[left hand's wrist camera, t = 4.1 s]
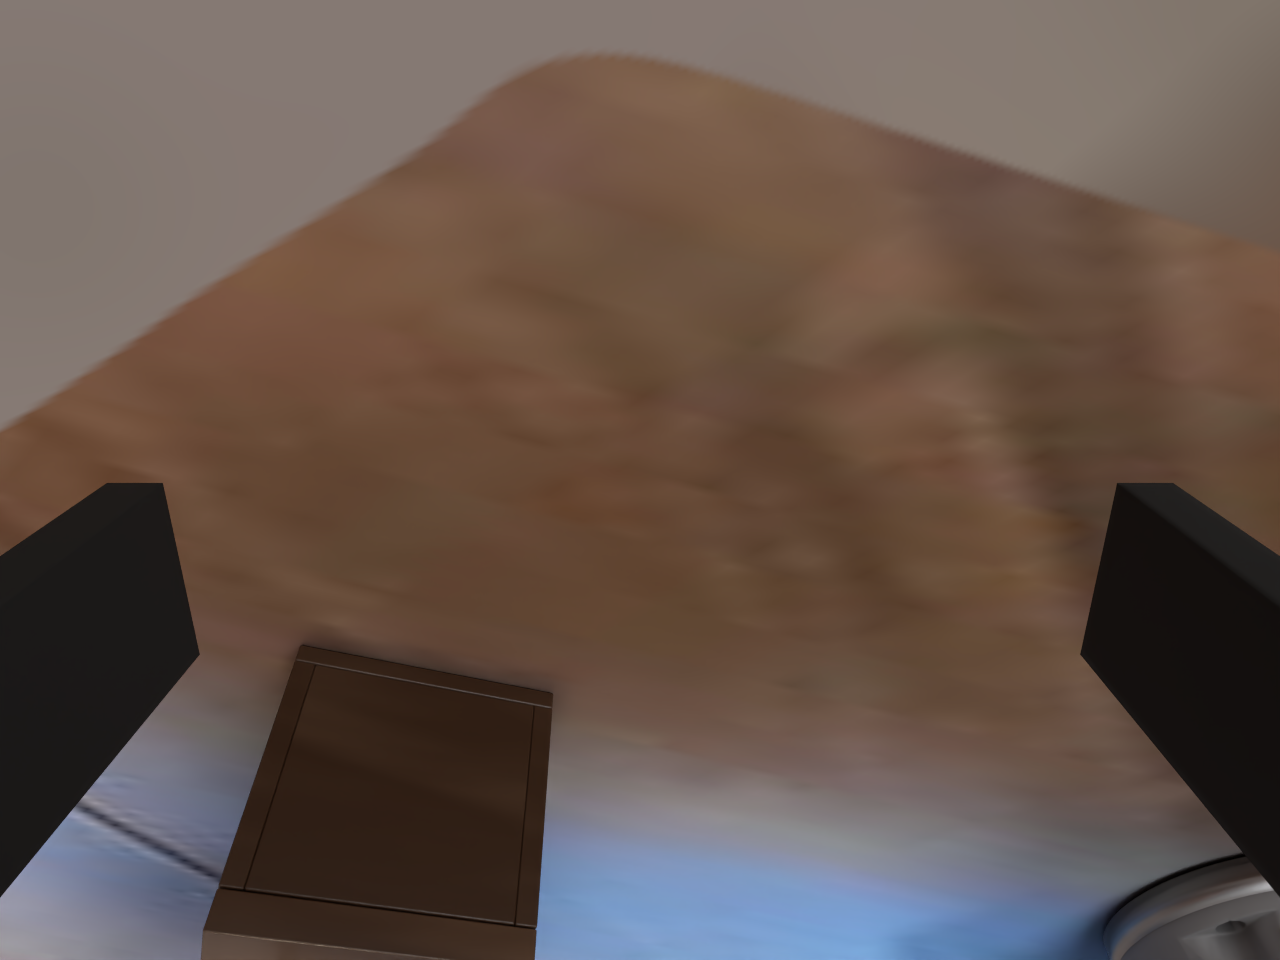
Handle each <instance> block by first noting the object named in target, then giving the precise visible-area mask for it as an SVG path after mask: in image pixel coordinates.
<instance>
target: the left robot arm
mask: <svg viewBox="0 0 1280 960" xmlns="http://www.w3.org/2000/svg"><path fill="white" fill-rule="evenodd" d="M199 655H200V654H199V649H198V645H197V640H196V635H195V631H194V626H193V621H192V617H191V612H190V607H189V603H188V598H187V593H186V589H185V584H184V580H183V575H182V570H181V566H180V561H179V556H178V552H177V547H176V542H175V538H174V533H173V528H172V524H171V519H170V515H169V510H168V505H167V501H166V496H165V491H164V487H163V483H106V484H105V485H104V486H102V487H101V488H99V489H98V490H96V491H95V492H93V493H92V494H90V495H89V496H87V497H86V498H85V499H83V500H82V501H80V502H79V503H77V504H76V505H74V506H73V507H71V508H70V509H69V510H67V511H66V512H64V513H63V514H61V515H60V516H58V517H57V518H55V519H54V520H52V521H51V522H50V523H48V524H47V525H45V526H44V527H42V528H41V529H39V530H38V531H36V532H35V533H33V534H32V535H31V536H29V537H28V538H26V539H25V540H23V541H22V542H20V543H19V544H17V545H16V546H15V547H13V548H12V549H10V550H9V551H7V552H6V553H4V554H3V555H1V556H0V897H1V896H2V895H3V893H4V892H5V891H6V890H7V888H8V887H9V886H10V885H11V884H12V882H13V881H14V880H15V879H16V878H17V876H18V875H19V874H20V873H21V871H22V870H23V869H24V868H25V867H26V865H27V864H28V863H29V862H30V860H31V859H32V858H33V857H34V856H35V854H36V853H37V852H38V851H39V849H40V848H41V847H42V846H43V845H44V843H45V842H46V841H47V840H48V839H49V837H50V836H51V835H52V834H53V832H54V831H55V830H56V829H57V828H58V826H59V825H60V824H61V823H62V821H63V820H64V819H65V818H66V817H67V815H68V814H69V813H70V812H71V811H72V809H73V808H74V807H75V806H76V804H77V803H78V802H79V801H80V800H81V798H82V797H83V796H84V795H85V793H86V792H87V791H88V790H89V789H90V787H91V786H92V785H93V784H94V782H95V781H96V780H97V779H98V778H99V776H100V775H101V774H102V773H103V772H104V770H105V769H106V768H107V767H108V765H109V764H110V763H111V762H112V761H113V759H114V758H115V757H116V756H117V754H118V753H119V752H120V751H121V750H122V748H123V747H124V746H125V745H126V744H127V742H128V741H129V740H130V739H131V737H132V736H133V735H134V734H135V733H136V731H137V730H138V729H139V728H140V726H141V725H142V724H143V723H144V722H145V720H146V719H147V718H148V717H149V715H150V714H151V713H152V712H153V711H154V709H155V708H156V707H157V706H158V705H159V703H160V702H161V701H162V700H163V698H164V697H165V696H166V695H167V694H168V692H169V691H170V690H171V689H172V687H173V686H174V685H175V684H176V683H177V681H178V680H179V679H180V678H181V676H182V675H183V674H184V673H185V672H186V670H187V669H188V668H189V667H190V666H191V664H192V663H193V662H194V661H195V659H196V658H197V657H198V656H199ZM1080 655H1081V656H1082V657H1083V658H1084V659H1085V661H1086V662H1087V663H1088V664H1089V666H1090V667H1091V668H1092V669H1093V670H1094V672H1095V673H1096V674H1097V675H1098V676H1099V678H1100V679H1101V680H1102V681H1103V683H1104V684H1105V685H1106V686H1107V687H1108V689H1109V690H1110V691H1111V692H1112V694H1113V695H1114V696H1115V697H1116V698H1117V700H1118V701H1119V702H1120V703H1121V705H1122V706H1123V707H1124V708H1125V709H1126V711H1127V712H1128V713H1129V714H1130V715H1131V717H1132V718H1133V719H1134V720H1135V722H1136V723H1137V724H1138V725H1139V726H1140V728H1141V729H1142V730H1143V731H1144V733H1145V734H1146V735H1147V736H1148V737H1149V739H1150V740H1151V741H1152V742H1153V744H1154V745H1155V746H1156V747H1157V748H1158V750H1159V751H1160V752H1161V753H1162V754H1163V756H1164V757H1165V758H1166V759H1167V761H1168V762H1169V763H1170V764H1171V765H1172V767H1173V768H1174V769H1175V770H1176V772H1177V773H1178V774H1179V775H1180V776H1181V778H1182V779H1183V780H1184V781H1185V782H1186V784H1187V785H1188V786H1189V787H1190V789H1191V790H1192V791H1193V792H1194V793H1195V795H1196V796H1197V797H1198V798H1199V800H1200V801H1201V802H1202V803H1203V804H1204V806H1205V807H1206V808H1207V809H1208V811H1209V812H1210V813H1211V814H1212V815H1213V817H1214V818H1215V819H1216V820H1217V821H1218V823H1219V824H1220V825H1221V826H1222V828H1223V829H1224V830H1225V831H1226V832H1227V834H1228V835H1229V836H1230V837H1231V839H1232V840H1233V841H1234V842H1235V843H1236V845H1237V846H1238V847H1239V848H1240V849H1241V851H1242V852H1243V853H1244V854H1245V856H1246V857H1242V858H1237V859H1233V860H1229V861H1225V862H1221V863H1217V864H1214V865H1210V866H1207V867H1204V868H1201V869H1198V870H1195V871H1192V872H1189V873H1186V874H1183V875H1181V876H1178V877H1176V878H1173V879H1171V880H1169V881H1166V882H1164V883H1162V884H1160V885H1158V886H1156V887H1154V888H1152V889H1150V890H1148V891H1146V892H1145V893H1143V894H1141V895H1140V896H1138V897H1136V898H1135V899H1133V900H1132V901H1130V902H1129V903H1128V904H1126V905H1125V906H1124V907H1123V908H1122V909H1120V910H1119V911H1118V912H1117V913H1116V914H1115V915H1114V916H1113V918H1112V919H1111V920H1110V921H1109V923H1108V924H1107V926H1106V928H1105V931H1104V934H1103V942H1104V946H1105V949H1106V951H1107V954H1108V956H1109V959H1110V960H1280V556H1279V555H1277V554H1276V553H1274V552H1273V551H1271V550H1270V549H1268V548H1267V547H1265V546H1264V545H1263V544H1261V543H1260V542H1258V541H1257V540H1255V539H1254V538H1252V537H1251V536H1249V535H1248V534H1247V533H1245V532H1244V531H1242V530H1241V529H1239V528H1238V527H1236V526H1235V525H1233V524H1232V523H1230V522H1229V521H1228V520H1226V519H1225V518H1223V517H1222V516H1220V515H1219V514H1217V513H1216V512H1214V511H1213V510H1211V509H1210V508H1209V507H1207V506H1206V505H1204V504H1203V503H1201V502H1200V501H1198V500H1197V499H1195V498H1194V497H1193V496H1191V495H1190V494H1188V493H1187V492H1185V491H1184V490H1182V489H1181V488H1179V487H1178V486H1176V485H1175V484H1174V483H1117V487H1116V491H1115V496H1114V501H1113V505H1112V510H1111V515H1110V519H1109V524H1108V528H1107V533H1106V538H1105V542H1104V547H1103V552H1102V556H1101V561H1100V566H1099V570H1098V575H1097V580H1096V584H1095V589H1094V593H1093V598H1092V603H1091V607H1090V612H1089V617H1088V621H1087V626H1086V631H1085V635H1084V640H1083V645H1082V649H1081V654H1080Z"/></svg>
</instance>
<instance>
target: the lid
mask: <svg viewBox="0 0 1280 960" xmlns="http://www.w3.org/2000/svg"><path fill="white" fill-rule="evenodd" d="M536 932H537V931H536V930H535V929H527V928H519V927H512V926H504V925H496V924H489V923H481V922H473V921H465V920H458V919H450V918H442V917H435V916H427V915H419V914H412V913H404V912H396V911H389V910H381V909H373V908H365V907H358V906H350V905H342V904H335V903H327V902H319V901H312V900H304V899H296V898H289V897H281V896H273V895H266V894H258V893H250V892H242V891H235V890H227V889H217V891H216V894H215V897H214V900H213V902H212V905H211V908H210V911H209V914H208V917H207V920H206V923H205V926H204V929H203V937H202V952H201V960H535V947H536Z"/></svg>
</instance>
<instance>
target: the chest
mask: <svg viewBox="0 0 1280 960" xmlns="http://www.w3.org/2000/svg"><path fill="white" fill-rule="evenodd" d="M552 703H553V694H552V693H547V692H542V691H537V690H532V689H527V688H521V687H516V686H511V685H506V684H501V683H495V682H490V681H485V680H480V679H475V678H469V677H464V676H459V675H454V674H449V673H443V672H438V671H433V670H428V669H422V668H417V667H412V666H407V665H402V664H396V663H391V662H386V661H381V660H376V659H370V658H365V657H360V656H355V655H350V654H344V653H339V652H334V651H329V650H324V649H318V648H313V647H308V646H301V647H300V648H299V651H298V654H297V657H296V661H295V663H294V666H293V669H292V672H291V675H290V678H289V680H288V683H287V686H286V689H285V692H284V695H283V698H282V701H281V704H280V707H279V710H278V713H277V715H276V718H275V721H274V724H273V727H272V730H271V733H270V736H269V739H268V742H267V745H266V748H265V751H264V753H263V756H262V759H261V762H260V765H259V768H258V771H257V774H256V777H255V780H254V783H253V786H252V789H251V791H250V794H249V797H248V800H247V803H246V806H245V809H244V812H243V815H242V818H241V821H240V824H239V827H238V829H237V832H236V835H235V838H234V841H233V844H232V847H231V850H230V853H229V856H228V859H227V862H226V864H225V867H224V870H223V873H222V876H221V879H220V882H219V886H218V889H227V890H235V891H242V892H250V893H258V894H266V895H273V896H281V897H289V898H296V899H304V900H312V901H319V902H327V903H335V904H342V905H350V906H358V907H365V908H373V909H381V910H389V911H396V912H404V913H412V914H419V915H427V916H435V917H442V918H450V919H458V920H465V921H473V922H481V923H489V924H496V925H504V926H512V927H519V928H527V929H536V927H537V919H538V904H539V890H540V876H541V862H542V847H543V833H544V819H545V805H546V790H547V776H548V762H549V748H550V733H551V719H552Z"/></svg>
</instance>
